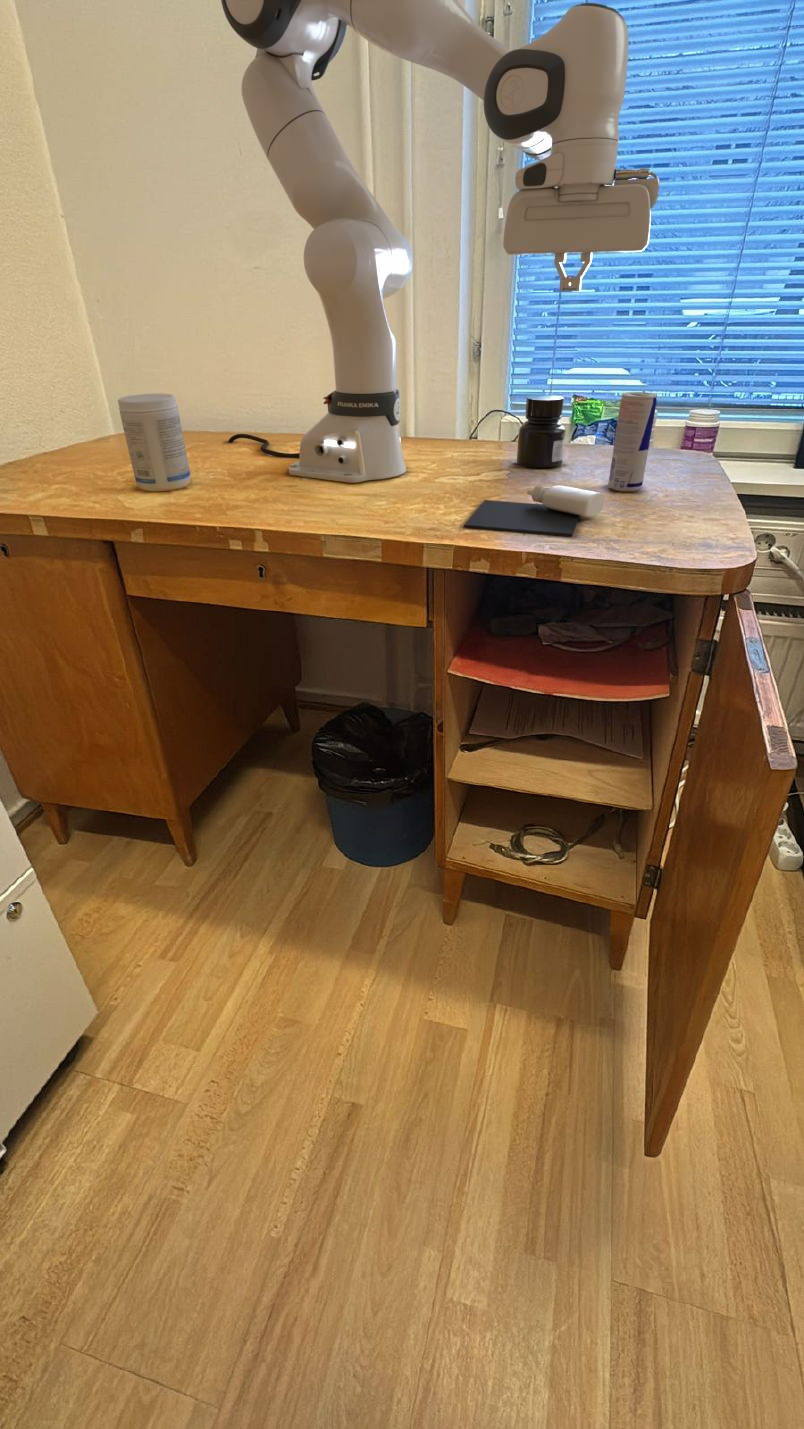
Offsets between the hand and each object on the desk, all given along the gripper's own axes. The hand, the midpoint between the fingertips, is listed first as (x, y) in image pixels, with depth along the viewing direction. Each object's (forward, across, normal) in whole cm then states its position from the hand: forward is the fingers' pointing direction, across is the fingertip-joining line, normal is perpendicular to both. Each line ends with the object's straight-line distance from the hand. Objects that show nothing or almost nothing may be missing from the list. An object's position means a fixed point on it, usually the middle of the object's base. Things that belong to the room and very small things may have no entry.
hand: (569, 291), depth 100 cm
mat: (+29, +2, +16) cm, 33 cm away
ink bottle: (+29, +5, -21) cm, 36 cm away
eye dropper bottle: (+27, -9, +14) cm, 32 cm away
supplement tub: (+29, +67, +14) cm, 75 cm away
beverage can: (+29, -12, -6) cm, 32 cm away
